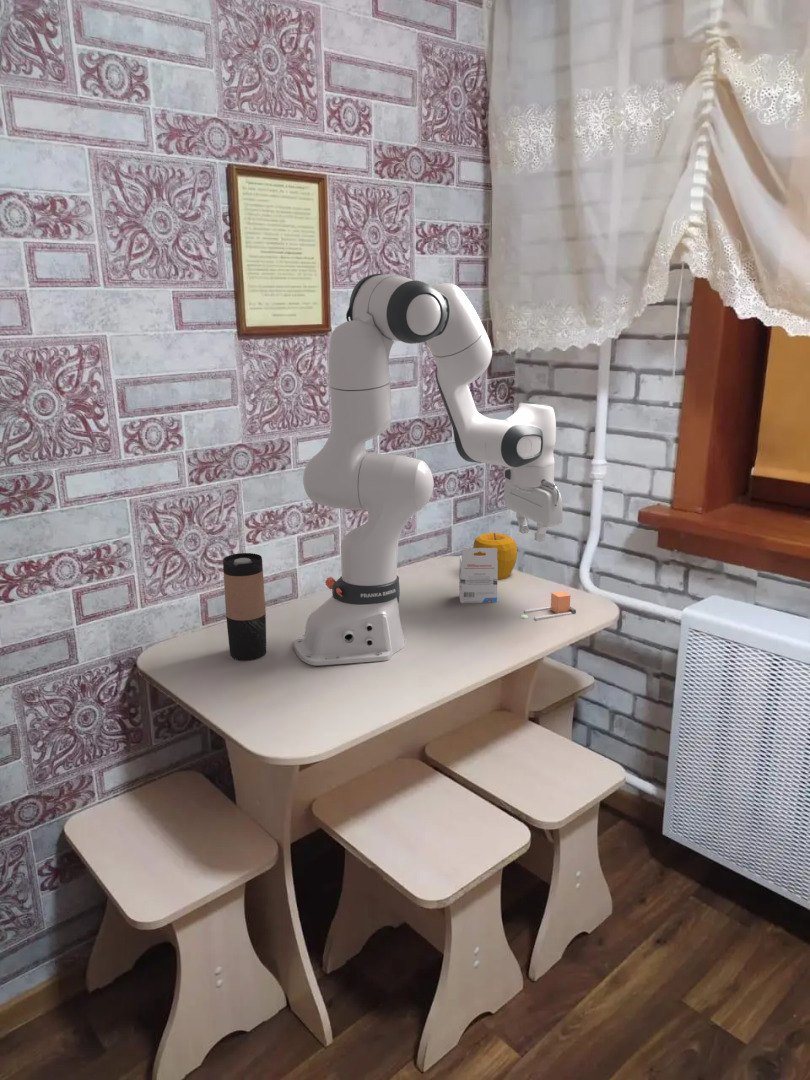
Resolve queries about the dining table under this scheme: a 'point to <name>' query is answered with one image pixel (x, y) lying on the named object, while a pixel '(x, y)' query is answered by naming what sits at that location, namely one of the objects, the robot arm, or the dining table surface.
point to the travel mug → (245, 606)
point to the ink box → (478, 576)
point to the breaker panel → (572, 611)
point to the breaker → (560, 602)
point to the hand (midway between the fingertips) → (531, 536)
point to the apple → (499, 551)
